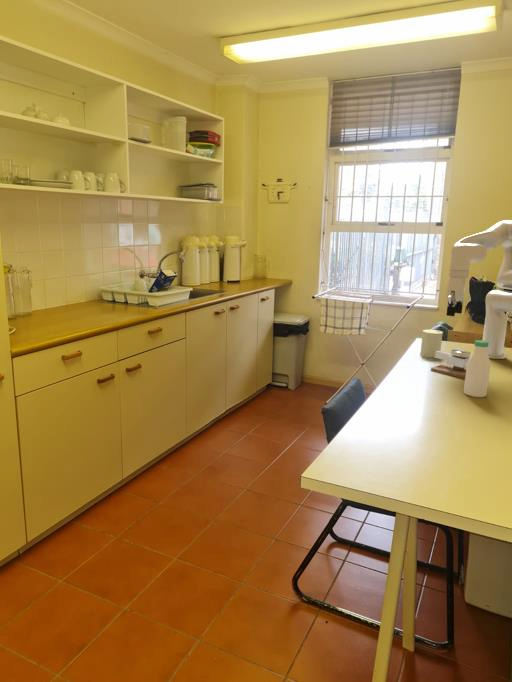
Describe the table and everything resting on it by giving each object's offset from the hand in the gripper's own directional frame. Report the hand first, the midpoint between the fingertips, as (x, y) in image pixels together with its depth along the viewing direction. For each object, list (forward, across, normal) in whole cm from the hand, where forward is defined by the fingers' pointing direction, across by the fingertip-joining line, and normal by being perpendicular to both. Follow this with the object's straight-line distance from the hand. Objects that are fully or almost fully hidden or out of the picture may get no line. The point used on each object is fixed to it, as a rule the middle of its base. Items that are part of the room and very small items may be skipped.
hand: (454, 314), depth 217 cm
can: (+23, -14, -13) cm, 30 cm away
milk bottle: (+23, +32, +20) cm, 45 cm away
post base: (+23, +6, +6) cm, 25 cm away
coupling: (+20, +5, +3) cm, 21 cm away
